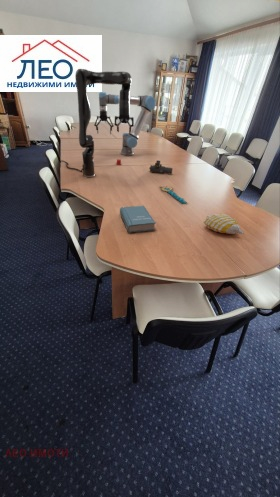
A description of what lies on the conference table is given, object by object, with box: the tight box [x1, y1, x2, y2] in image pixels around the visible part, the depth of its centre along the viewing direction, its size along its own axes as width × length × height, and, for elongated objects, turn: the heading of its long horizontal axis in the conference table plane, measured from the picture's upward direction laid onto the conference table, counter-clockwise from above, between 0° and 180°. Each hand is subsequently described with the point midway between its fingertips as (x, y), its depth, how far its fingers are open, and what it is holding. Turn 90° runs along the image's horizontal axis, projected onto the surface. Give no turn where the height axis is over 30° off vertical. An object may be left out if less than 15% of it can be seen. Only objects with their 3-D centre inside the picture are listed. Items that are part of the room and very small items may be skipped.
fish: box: [203, 213, 245, 235], centre depth 133 cm, size 25×8×20 cm
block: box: [116, 158, 122, 166], centre depth 232 cm, size 4×4×5 cm
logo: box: [159, 185, 188, 204], centre depth 175 cm, size 34×10×1 cm, turn 16°
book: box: [119, 205, 156, 233], centre depth 136 cm, size 23×16×5 cm
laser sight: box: [148, 160, 173, 175], centre depth 216 cm, size 10×22×10 cm, turn 78°
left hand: (124, 132), depth 168 cm, fingers open, 8 cm apart
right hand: (104, 133), depth 238 cm, fingers open, 13 cm apart
